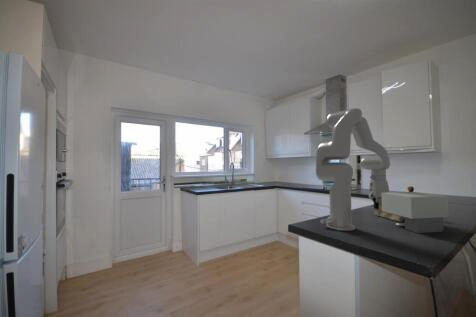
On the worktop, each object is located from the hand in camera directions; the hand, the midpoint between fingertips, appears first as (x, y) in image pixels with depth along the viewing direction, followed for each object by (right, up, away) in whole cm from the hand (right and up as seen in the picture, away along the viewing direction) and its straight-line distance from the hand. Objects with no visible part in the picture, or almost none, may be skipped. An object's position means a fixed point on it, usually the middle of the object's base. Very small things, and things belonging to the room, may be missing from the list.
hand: (378, 208), depth 127 cm
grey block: (+2, -4, -23) cm, 23 cm away
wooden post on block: (+1, -4, -7) cm, 8 cm away
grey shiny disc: (-2, -4, -20) cm, 20 cm away
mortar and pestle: (+17, -5, -3) cm, 18 cm away
